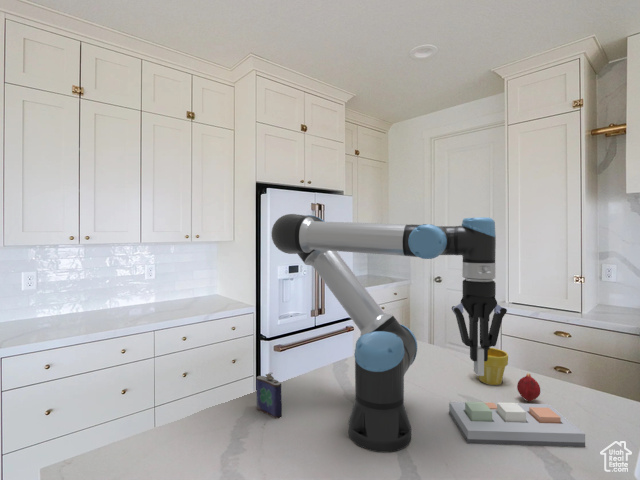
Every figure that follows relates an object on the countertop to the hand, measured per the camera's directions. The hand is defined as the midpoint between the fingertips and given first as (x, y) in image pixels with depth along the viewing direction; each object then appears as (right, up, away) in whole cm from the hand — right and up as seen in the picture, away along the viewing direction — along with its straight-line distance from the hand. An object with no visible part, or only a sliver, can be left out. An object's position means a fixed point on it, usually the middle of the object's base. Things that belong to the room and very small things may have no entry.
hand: (478, 373), depth 87 cm
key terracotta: (+16, -12, -1) cm, 20 cm away
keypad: (+8, -14, 0) cm, 16 cm away
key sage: (0, -11, 0) cm, 11 cm away
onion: (+21, -14, +14) cm, 28 cm away
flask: (-54, -14, +8) cm, 56 cm away
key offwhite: (+8, -11, 0) cm, 14 cm away
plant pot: (+17, -14, +28) cm, 35 cm away
